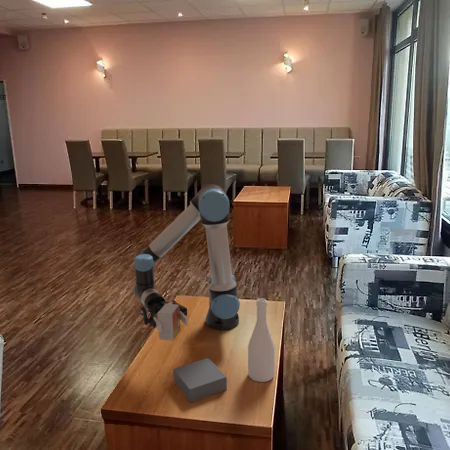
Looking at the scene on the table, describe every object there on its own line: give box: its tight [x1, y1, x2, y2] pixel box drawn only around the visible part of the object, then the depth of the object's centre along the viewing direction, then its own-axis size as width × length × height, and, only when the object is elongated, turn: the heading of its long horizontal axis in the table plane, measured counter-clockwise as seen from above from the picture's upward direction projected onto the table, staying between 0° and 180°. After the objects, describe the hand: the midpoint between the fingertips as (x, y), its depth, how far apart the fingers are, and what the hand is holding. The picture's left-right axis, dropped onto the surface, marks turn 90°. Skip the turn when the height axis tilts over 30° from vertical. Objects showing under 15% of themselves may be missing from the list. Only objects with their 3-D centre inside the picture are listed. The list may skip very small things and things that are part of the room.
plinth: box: [172, 357, 228, 403], centre depth 159 cm, size 14×14×5 cm
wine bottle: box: [247, 297, 276, 383], centre depth 161 cm, size 10×10×30 cm
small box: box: [157, 304, 181, 342], centre depth 161 cm, size 8×6×10 cm
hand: (173, 325), depth 157 cm, fingers closed on small box, 9 cm apart
